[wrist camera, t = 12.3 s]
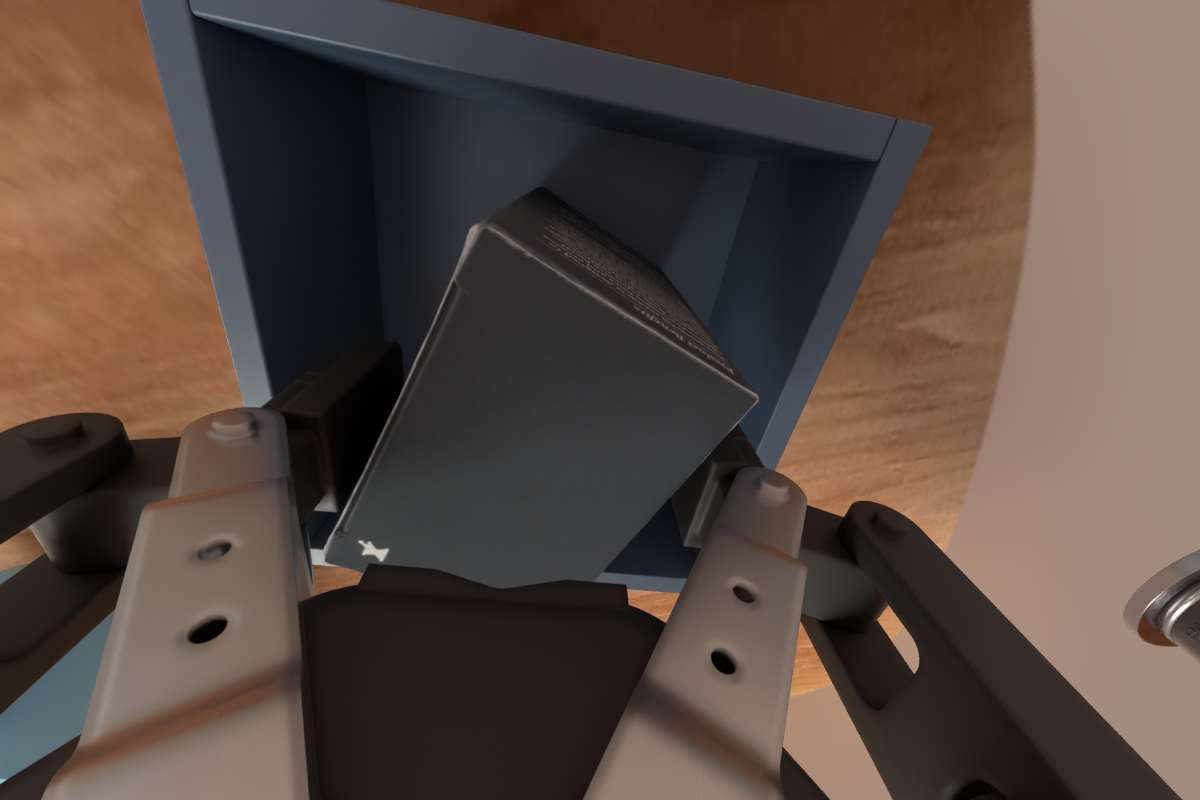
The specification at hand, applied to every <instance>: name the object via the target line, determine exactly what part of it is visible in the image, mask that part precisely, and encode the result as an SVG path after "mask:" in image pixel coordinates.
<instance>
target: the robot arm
mask: <svg viewBox="0 0 1200 800" xmlns="http://www.w3.org/2000/svg"><path fill="white" fill-rule="evenodd" d="M403 386H404V372H403V353H402V348H401V345H400V344H399V343H398V342H391V341H384V340H377V339H369V338H365V339H363V340H362V341H361V342H360V343H358V344H357V345H356V346H355V347H354V348H352V349H351V350H350V351H349V352H348V353H346V354H345V355H343V354H339V355H336V356H334V357H331V358H328V359H325V360H323V361H320V362H318V363H317V364H316V365H315V366H313V367H312V368H311V369H309V370H308V371H307V372H306V374H303V375H302V376H300V377H299V378H298V379H297V380H295V383H291V384H290V385H289V386H288V387H286V388H285V389H284V390H282V391H281V392H280V393H279V394H277V395H276V396H275V397H273V398H272V399H271V400H270V401H268V402H267V403H266V404H264V405H263V406H262V407H261V408H259V407H243V408H234V409H228V410H223V411H219V412H216V413H212V414H209V415H207V416H204V417H202V418H200V419H198V420H196V421H194V422H193V423H191V424H190V425H189V426H188V427H186V429H185V430H184V431H183V433H182V435H181V437H175V438H159V439H142V440H129V438H128V436H127V433H126V431H125V429H124V426H123V424H122V422H121V421H120V419H118V418H116V417H114V416H111V415H107V414H101V413H73V414H64V415H58V416H52V417H47V418H42V419H38V420H35V421H31V422H27V423H24V424H21V425H18V426H16V427H13V428H11V429H8V430H6V431H4V432H1V433H0V544H2V543H4V542H5V541H7V540H8V539H10V538H11V537H13V536H15V535H16V534H18V533H19V532H21V531H22V530H24V529H26V528H27V527H30V529H31V530H32V532H33V533H34V535H35V537H36V538H37V540H38V541H39V543H40V544H41V546H42V548H43V549H44V551H45V552H46V553H44V554H43V555H42V556H40V557H39V558H37V559H36V560H35V561H33V562H32V563H30V564H29V565H27V566H26V567H25V568H23V569H22V570H20V571H19V572H17V573H16V574H15V575H13V576H12V577H10V578H9V579H7V580H6V581H5V582H3V583H2V584H0V715H1V714H2V713H3V712H4V711H5V710H6V709H7V708H8V707H9V706H10V705H11V704H13V703H14V702H15V701H16V700H17V699H18V698H19V697H20V696H21V695H22V694H23V693H24V692H26V691H27V690H28V689H29V688H30V687H31V686H32V685H33V684H34V683H35V682H36V681H38V680H39V679H40V678H41V677H42V676H43V675H44V674H45V673H46V672H47V671H48V670H50V669H51V668H52V667H53V666H54V665H55V664H56V663H57V662H58V661H59V660H60V659H62V658H63V657H64V656H65V655H66V654H67V653H68V652H69V651H70V650H71V649H72V648H73V647H75V646H76V645H77V644H78V643H79V642H80V641H81V640H82V639H83V638H84V637H85V636H87V635H88V634H89V633H90V632H91V631H92V630H93V629H94V628H95V627H96V626H97V625H99V624H100V623H101V622H102V621H103V620H104V619H105V618H106V617H107V616H108V615H109V614H110V613H112V612H113V611H114V610H115V613H114V616H113V620H112V624H111V627H110V631H109V635H108V638H107V642H106V646H105V649H104V653H103V657H102V660H101V664H100V668H99V672H98V675H97V679H96V683H95V686H94V690H93V694H92V697H91V701H90V705H89V708H88V712H87V716H86V719H85V723H84V727H83V731H82V733H81V734H80V735H78V736H76V737H75V738H73V739H72V740H70V741H68V742H67V743H65V744H64V745H62V746H60V747H59V748H57V749H55V750H54V751H52V752H51V753H49V754H47V755H46V756H44V757H43V758H41V759H39V760H38V761H36V762H34V763H33V764H31V765H30V766H28V767H26V768H25V769H23V770H22V771H20V772H18V773H17V774H15V775H14V776H12V777H10V778H9V779H7V780H5V781H4V782H2V783H1V784H0V800H830V799H829V798H828V797H827V796H826V795H825V793H824V792H823V791H822V790H821V789H820V788H819V787H818V786H817V784H816V783H815V782H814V781H813V780H812V779H811V778H810V777H809V776H808V774H807V773H806V772H805V771H804V770H803V769H802V768H801V767H800V765H798V763H797V762H796V761H795V760H794V759H793V758H792V757H791V755H790V754H789V753H788V752H787V751H786V750H785V749H784V748H783V746H782V745H783V739H784V732H785V725H786V717H787V710H788V703H789V696H790V689H791V682H792V674H793V667H794V660H795V653H796V646H797V638H798V631H799V624H800V621H801V623H802V625H803V627H804V629H805V631H806V632H807V634H808V636H809V638H810V640H811V642H812V644H813V646H814V648H815V650H816V652H817V654H818V656H819V658H820V660H821V662H822V663H823V665H824V667H825V669H826V671H827V673H828V675H829V677H830V679H831V681H832V683H833V685H834V687H835V689H836V690H837V692H838V694H839V696H840V698H841V700H842V702H843V704H844V706H845V708H846V710H847V712H848V714H849V716H850V718H851V720H852V722H853V723H854V725H855V727H856V729H857V731H858V733H859V735H860V737H861V739H862V741H863V743H864V745H865V747H866V749H867V751H868V752H869V754H870V756H871V758H872V760H873V762H874V764H875V766H876V768H877V770H878V772H879V774H880V776H881V777H882V779H883V781H884V783H885V785H886V787H887V789H888V791H889V793H890V795H891V797H892V799H893V800H1182V799H1181V798H1180V797H1179V796H1178V795H1177V794H1176V793H1175V792H1174V791H1173V790H1172V789H1171V788H1170V787H1169V786H1168V785H1167V784H1166V783H1165V782H1164V780H1162V778H1161V777H1160V776H1159V775H1158V774H1157V773H1156V772H1155V771H1154V770H1153V769H1152V768H1151V767H1150V766H1149V765H1148V764H1147V763H1146V762H1145V761H1144V760H1143V759H1142V758H1141V757H1140V756H1139V755H1138V754H1137V752H1136V751H1134V749H1133V748H1132V747H1131V746H1130V745H1129V744H1128V743H1127V742H1126V741H1125V740H1124V739H1123V738H1122V737H1121V736H1120V735H1119V734H1118V733H1117V732H1116V731H1115V730H1114V729H1113V728H1112V727H1111V726H1110V725H1109V723H1107V721H1106V720H1104V719H1103V717H1102V716H1101V715H1100V714H1099V713H1098V712H1097V711H1096V710H1095V709H1094V708H1093V707H1092V706H1091V705H1090V704H1089V703H1088V702H1087V701H1086V700H1085V699H1084V698H1083V697H1082V696H1081V695H1080V693H1079V692H1078V691H1077V690H1076V689H1075V688H1074V687H1073V686H1072V685H1071V684H1070V683H1069V682H1068V681H1067V680H1066V679H1065V678H1064V677H1063V676H1062V675H1061V674H1060V673H1059V672H1058V671H1057V670H1056V669H1055V668H1054V667H1053V665H1051V664H1050V663H1049V661H1048V660H1047V659H1046V658H1045V657H1044V656H1043V655H1042V654H1041V653H1040V652H1039V651H1038V650H1037V649H1036V648H1035V647H1034V646H1033V645H1032V644H1031V643H1030V642H1029V641H1028V640H1027V639H1026V638H1025V636H1024V635H1023V634H1022V633H1021V632H1020V631H1019V630H1018V629H1017V628H1016V627H1015V626H1014V625H1013V624H1012V623H1011V622H1010V621H1009V620H1008V619H1007V618H1006V617H1005V616H1004V615H1003V614H1002V613H1001V612H1000V611H999V610H998V609H997V607H996V606H995V605H994V604H993V603H992V602H991V601H990V600H989V599H988V598H987V597H986V596H985V595H984V594H983V593H982V592H981V591H980V590H979V589H978V588H977V587H976V586H975V585H974V584H973V583H972V582H971V581H970V580H969V579H968V577H967V576H966V575H965V574H964V573H963V572H962V571H961V570H960V569H959V568H958V567H957V566H956V565H955V564H954V563H953V562H952V561H951V560H950V559H949V558H948V557H947V556H946V555H945V554H944V553H943V552H942V551H941V549H940V548H939V547H938V546H937V545H936V544H935V543H934V542H933V541H932V540H931V539H930V538H929V537H928V536H927V535H926V534H925V533H924V532H923V531H922V530H921V529H920V528H919V527H918V526H917V525H916V524H915V523H914V522H912V521H911V520H910V519H908V518H907V517H905V516H904V515H902V514H901V513H899V512H897V511H895V510H893V509H891V508H889V507H887V506H884V505H881V504H878V503H875V502H870V501H857V502H855V503H853V504H852V505H851V506H850V508H849V510H848V511H847V513H846V515H845V516H844V517H842V516H839V515H836V514H832V513H829V512H826V511H823V510H820V509H817V508H814V507H811V506H809V505H807V499H806V496H805V494H804V492H803V491H802V490H801V488H800V487H799V486H798V485H797V484H796V483H794V482H793V481H792V480H790V479H789V478H788V477H786V476H784V475H782V474H780V473H778V472H776V471H773V470H771V469H767V468H765V467H764V465H763V463H762V462H761V460H760V458H759V457H758V455H757V453H756V452H755V450H754V448H753V447H752V445H751V443H750V442H749V441H748V438H747V437H746V435H745V433H744V432H743V431H742V428H741V427H740V425H739V423H738V424H737V425H736V426H735V427H734V428H733V429H732V430H731V431H730V432H729V433H728V434H727V435H726V436H725V437H724V439H723V440H722V441H721V442H720V443H719V444H718V445H717V446H716V447H715V448H714V450H713V451H712V452H711V453H710V454H709V455H708V456H707V458H706V459H705V460H704V461H703V462H702V463H701V464H700V465H699V466H698V467H697V468H696V469H695V471H694V472H693V473H692V474H691V475H690V476H689V477H688V478H687V480H686V481H685V482H684V483H683V484H682V485H681V486H680V487H679V488H678V489H677V490H676V491H675V493H674V494H673V495H672V496H671V500H672V504H673V507H674V511H675V515H676V518H677V522H678V526H679V530H680V533H681V537H682V541H683V545H684V546H685V547H696V548H701V550H700V552H699V554H698V556H697V559H696V561H695V563H694V565H693V567H692V569H691V572H690V574H689V576H688V578H687V580H686V582H685V584H684V587H683V589H682V591H681V593H680V595H679V597H678V600H677V602H676V604H675V606H674V608H673V610H672V612H671V615H670V617H669V619H668V621H667V623H665V622H663V621H661V620H660V619H658V618H656V617H655V616H653V615H651V614H649V613H647V612H645V611H643V610H640V609H638V608H636V607H633V606H630V605H629V603H628V594H627V585H626V584H616V583H603V582H591V581H579V580H567V579H566V580H560V581H553V582H546V583H539V584H532V585H525V586H519V587H512V588H503V589H501V588H494V587H491V586H488V585H484V584H481V583H478V582H475V581H472V580H469V579H466V578H463V577H460V576H456V575H453V574H450V573H447V572H444V571H441V570H438V569H432V568H420V567H408V566H395V565H383V564H371V563H369V565H368V566H367V568H366V570H365V572H364V574H363V576H362V578H361V580H360V582H359V584H358V585H354V586H348V587H344V588H340V589H336V590H331V591H328V592H325V593H322V594H319V595H316V589H315V581H314V573H313V565H312V557H311V548H310V540H309V532H308V527H307V522H306V520H307V518H308V517H309V516H310V514H311V513H312V512H313V510H315V511H326V512H336V513H337V512H338V511H339V509H340V508H341V507H342V505H343V504H344V502H345V501H346V499H347V498H348V496H349V495H350V493H351V492H352V491H353V489H354V488H355V485H356V483H357V481H358V480H359V478H360V476H361V474H362V472H363V470H364V468H365V466H366V464H367V462H368V459H369V456H370V454H371V452H372V451H373V449H374V447H375V445H376V443H377V440H378V438H379V436H380V434H381V432H382V430H383V428H384V426H385V424H386V422H387V420H388V418H389V416H390V414H391V412H392V409H393V407H394V405H395V403H396V401H397V399H398V397H399V395H400V393H401V390H402V388H403ZM888 605H889V606H890V607H891V609H892V610H893V611H894V613H895V614H896V616H897V617H898V618H899V620H900V621H901V622H902V624H903V625H904V627H905V628H906V629H907V630H908V632H909V633H910V635H911V636H912V638H913V639H914V641H915V643H916V646H917V648H918V652H919V658H920V659H919V668H918V670H917V671H916V673H915V674H914V673H913V672H912V670H911V669H910V668H909V666H908V665H907V663H906V662H905V660H904V659H903V657H902V656H901V654H900V653H899V651H898V650H897V649H896V647H895V646H894V644H893V643H892V641H891V640H890V638H889V637H888V635H887V634H886V632H885V631H884V629H883V628H882V626H881V625H880V624H879V622H878V621H877V619H878V618H879V617H880V615H881V614H882V613H883V612H884V610H885V609H886V608H887V606H888ZM1157 628H1158V630H1159V632H1160V633H1162V634H1163V635H1164V636H1165V637H1167V638H1168V639H1169V640H1170V641H1172V642H1173V643H1174V644H1176V645H1178V646H1180V647H1181V648H1182V649H1184V650H1185V651H1186V652H1187V653H1189V654H1190V655H1191V656H1192V657H1193V658H1195V659H1196V660H1197V661H1199V662H1200V581H1198V582H1196V583H1195V584H1193V585H1191V586H1190V587H1188V588H1187V589H1185V590H1184V591H1182V592H1181V593H1180V594H1178V595H1177V596H1176V597H1175V598H1173V599H1172V600H1171V601H1170V602H1169V603H1168V604H1167V605H1166V606H1165V607H1164V609H1163V610H1162V611H1161V613H1160V615H1159V617H1158V619H1157Z"/></svg>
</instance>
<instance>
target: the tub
mask: <svg viewBox="0 0 1200 800" xmlns="http://www.w3.org/2000/svg"><path fill="white" fill-rule="evenodd" d="M139 1H140V5H141V9H142V12H143V16H144V20H145V24H146V28H147V32H148V36H149V39H150V43H151V47H152V51H153V55H154V59H155V63H156V67H157V70H158V74H159V78H160V82H161V86H162V90H163V94H164V98H165V101H166V105H167V109H168V113H169V117H170V121H171V125H172V129H173V132H174V136H175V140H176V144H177V148H178V152H179V156H180V160H181V163H182V167H183V171H184V175H185V179H186V183H187V187H188V191H189V194H190V198H191V202H192V206H193V210H194V214H195V218H196V221H197V225H198V229H199V233H200V237H201V241H202V245H203V249H204V252H205V256H206V260H207V264H208V268H209V272H210V276H211V280H212V283H213V287H214V291H215V295H216V299H217V303H218V307H219V311H220V314H221V318H222V322H223V326H224V330H225V334H226V338H227V342H228V345H229V349H230V353H231V357H232V361H233V365H234V369H235V372H236V376H237V380H238V384H239V388H240V392H241V396H242V400H243V403H244V407H259V408H261V407H262V406H263V405H264V404H266V403H267V402H268V401H270V400H271V399H272V398H273V397H275V396H276V395H277V394H279V393H280V392H281V391H282V390H284V389H285V388H286V387H288V386H289V385H290V384H291V383H295V380H297V379H298V378H299V377H300V376H302V375H303V374H306V372H307V371H308V370H309V369H311V368H312V367H313V366H315V365H316V364H317V363H318V362H320V361H323V360H325V359H328V358H331V357H334V356H336V355H339V354H343V355H345V354H346V353H348V352H349V351H350V350H351V349H352V348H354V347H355V346H356V345H357V344H358V343H360V342H361V341H362V340H363V339H365V338H369V339H377V340H384V341H391V342H398V343H399V344H400V345H401V348H402V353H403V372H404V384H405V381H406V379H407V377H408V375H409V372H410V370H411V368H412V365H413V363H414V361H415V358H416V356H417V354H418V352H419V350H420V348H421V345H422V343H423V341H424V339H425V337H426V335H427V333H428V331H429V329H430V328H431V325H432V323H433V321H434V318H435V316H436V313H437V311H438V308H439V306H440V303H441V301H442V299H443V296H444V294H445V292H446V289H447V287H448V285H449V282H450V280H451V278H452V275H453V273H454V271H455V268H456V266H457V263H458V260H459V258H460V255H461V253H462V250H463V247H464V243H465V240H466V237H467V234H468V231H469V229H470V227H471V226H472V225H473V224H475V223H476V222H478V221H480V220H481V219H483V218H484V217H486V216H489V215H491V214H493V213H495V212H496V211H497V210H499V209H501V208H503V207H505V206H506V205H508V204H510V203H512V202H514V201H515V200H517V199H519V198H521V197H522V196H524V195H526V194H527V193H529V192H530V191H532V190H534V189H535V188H537V187H545V188H546V189H547V190H548V191H550V192H551V193H553V194H554V195H556V196H557V197H559V198H560V199H561V200H563V201H564V202H565V203H567V204H568V205H570V206H571V207H573V208H574V209H576V210H577V211H578V212H580V213H581V214H583V215H584V216H585V217H587V218H588V219H590V220H591V221H593V222H594V223H595V224H597V225H598V226H599V227H601V228H602V229H604V230H605V231H607V232H608V233H610V234H611V235H613V236H614V237H615V238H617V239H618V240H620V241H621V242H622V243H624V244H625V245H627V246H628V247H630V248H632V249H633V250H634V251H636V252H637V253H639V254H640V255H642V256H643V257H644V258H646V259H647V260H648V261H650V262H652V263H653V264H654V265H656V266H657V267H659V268H660V269H661V270H662V271H663V272H664V273H665V274H666V276H667V277H668V278H669V280H670V281H671V282H672V284H673V285H674V286H675V287H676V289H677V290H678V291H679V293H680V295H681V296H682V297H683V298H684V299H685V300H686V302H687V304H688V305H689V306H690V307H691V309H692V310H693V311H694V313H695V314H696V315H697V316H698V318H699V319H700V320H701V322H702V323H703V324H704V325H705V326H706V328H707V329H708V331H709V332H710V333H711V335H712V336H713V337H714V338H715V340H716V341H717V342H718V344H719V345H720V346H721V347H722V349H723V350H724V352H725V353H726V354H727V355H728V357H729V358H730V360H731V361H732V362H733V363H734V365H735V366H736V368H737V369H738V370H739V372H740V373H741V374H742V376H743V377H744V378H745V379H746V380H747V381H748V383H749V384H750V385H751V386H752V388H753V389H754V390H755V392H756V393H757V395H758V398H759V400H758V402H757V403H756V404H755V405H754V406H753V407H752V408H751V409H750V411H749V412H748V413H747V414H746V415H745V416H744V417H743V418H742V419H741V421H740V422H739V425H740V427H741V428H742V431H743V432H744V433H745V435H746V437H747V438H748V441H749V442H750V443H751V445H752V447H753V448H754V450H755V452H756V453H757V455H758V457H759V458H760V460H761V462H762V463H763V465H764V467H765V468H767V469H771V470H773V471H775V468H776V466H777V464H778V462H779V460H780V458H781V455H782V453H783V451H784V449H785V447H786V445H787V443H788V440H789V438H790V436H791V434H792V432H793V430H794V427H795V425H796V423H797V421H798V419H799V417H800V414H801V412H802V410H803V408H804V406H805V404H806V401H807V399H808V397H809V395H810V393H811V391H812V388H813V386H814V384H815V382H816V380H817V378H818V375H819V373H820V371H821V369H822V367H823V365H824V362H825V360H826V358H827V356H828V354H829V352H830V349H831V347H832V345H833V343H834V341H835V339H836V336H837V334H838V332H839V330H840V328H841V326H842V324H843V321H844V319H845V317H846V315H847V313H848V311H849V308H850V306H851V304H852V302H853V300H854V298H855V295H856V293H857V291H858V289H859V287H860V285H861V282H862V280H863V278H864V276H865V274H866V272H867V269H868V267H869V265H870V263H871V261H872V259H873V256H874V254H875V252H876V250H877V248H878V246H879V243H880V241H881V239H882V237H883V235H884V233H885V230H886V228H887V226H888V224H889V222H890V220H891V217H892V215H893V213H894V211H895V209H896V207H897V205H898V202H899V200H900V198H901V196H902V194H903V192H904V189H905V187H906V185H907V183H908V181H909V179H910V176H911V174H912V172H913V170H914V168H915V166H916V163H917V161H918V159H919V157H920V155H921V153H922V150H923V148H924V146H925V144H926V142H927V140H928V137H929V135H930V133H931V131H932V129H933V127H932V126H931V125H928V124H924V123H919V122H915V121H911V120H906V119H902V118H897V119H895V118H894V117H892V116H888V115H884V114H879V113H875V112H871V111H866V110H862V109H857V108H853V107H849V106H844V105H840V104H836V103H831V102H827V101H823V100H818V99H814V98H810V97H805V96H801V95H797V94H792V93H788V92H784V91H779V90H775V89H771V88H766V87H762V86H757V85H753V84H749V83H744V82H740V81H736V80H731V79H727V78H723V77H718V76H714V75H710V74H705V73H701V72H697V71H692V70H688V69H684V68H679V67H675V66H671V65H666V64H662V63H658V62H653V61H649V60H644V59H640V58H636V57H631V56H627V55H623V54H618V53H614V52H610V51H605V50H601V49H597V48H592V47H588V46H584V45H579V44H575V43H571V42H566V41H562V40H558V39H553V38H549V37H544V36H540V35H536V34H531V33H527V32H523V31H518V30H514V29H510V28H505V27H501V26H497V25H492V24H488V23H484V22H479V21H475V20H471V19H466V18H462V17H458V16H453V15H449V14H444V13H440V12H436V11H431V10H427V9H423V8H418V7H414V6H410V5H405V4H401V3H397V2H392V1H388V0H139ZM353 490H354V489H353ZM352 492H353V491H352ZM352 492H351V493H350V495H349V496H348V498H347V499H346V501H345V502H344V504H343V505H342V507H341V508H340V509H339V511H338V512H337V513H336V512H326V511H315V510H313V512H312V513H311V514H310V516H309V517H308V518H307V520H306V522H307V527H308V532H309V540H310V548H311V557H312V565H323V566H336V565H332V564H328V563H327V562H325V555H324V552H323V551H324V546H325V544H326V542H327V540H328V538H329V536H330V534H331V532H332V531H333V529H334V527H335V526H336V523H337V521H338V520H339V518H340V516H341V514H342V512H343V510H344V508H345V506H346V504H347V502H348V500H349V498H350V496H351V494H352ZM700 550H701V548H696V547H685V546H684V545H683V541H682V537H681V533H680V530H679V526H678V522H677V518H676V515H675V511H674V507H673V504H672V500H671V497H670V498H669V499H668V500H667V501H666V502H665V504H664V505H663V506H662V507H661V508H660V509H659V510H658V511H657V512H656V513H655V514H654V516H653V517H652V518H651V519H650V520H649V522H648V523H647V524H646V525H645V526H644V527H643V528H642V529H641V530H640V531H639V532H638V533H637V534H636V536H635V537H634V538H633V539H632V540H631V541H630V542H629V543H628V544H627V545H626V547H625V548H624V549H623V550H622V551H621V552H620V553H619V554H618V556H617V557H616V558H615V559H614V560H613V561H612V562H611V563H610V564H609V565H608V567H607V568H606V569H605V570H604V571H603V572H602V573H601V574H600V575H599V577H598V578H597V579H596V580H595V581H594V582H603V583H616V584H626V585H627V589H631V590H644V591H657V592H670V593H681V591H682V589H683V587H684V584H685V582H686V580H687V578H688V576H689V574H690V572H691V569H692V567H693V565H694V563H695V561H696V559H697V556H698V554H699V552H700ZM336 567H340V566H336Z"/></svg>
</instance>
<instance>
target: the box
mask: <svg viewBox="0 0 1200 800" xmlns="http://www.w3.org/2000/svg"><path fill="white" fill-rule="evenodd" d="M758 400H759V398H758V395H757V393H756V392H755V390H754V389H753V388H752V386H751V385H750V384H749V383H748V381H747V380H746V379H745V378H744V377H743V376H742V374H741V373H740V372H739V370H738V369H737V368H736V366H735V365H734V363H733V362H732V361H731V360H730V358H729V357H728V355H727V354H726V353H725V352H724V350H723V349H722V347H721V346H720V345H719V344H718V342H717V341H716V340H715V338H714V337H713V336H712V335H711V333H710V332H709V331H708V329H707V328H706V326H705V325H704V324H703V323H702V322H701V320H700V319H699V318H698V316H697V315H696V314H695V313H694V311H693V310H692V309H691V307H690V306H689V305H688V304H687V302H686V300H685V299H684V298H683V297H682V296H681V295H680V293H679V291H678V290H677V289H676V287H675V286H674V285H673V284H672V282H671V281H670V280H669V278H668V277H667V276H666V274H665V273H664V272H663V271H662V270H661V269H660V268H659V267H657V266H656V265H654V264H653V263H652V262H650V261H648V260H647V259H646V258H644V257H643V256H642V255H640V254H639V253H637V252H636V251H634V250H633V249H632V248H630V247H628V246H627V245H625V244H624V243H622V242H621V241H620V240H618V239H617V238H615V237H614V236H613V235H611V234H610V233H608V232H607V231H605V230H604V229H602V228H601V227H599V226H598V225H597V224H595V223H594V222H593V221H591V220H590V219H588V218H587V217H585V216H584V215H583V214H581V213H580V212H578V211H577V210H576V209H574V208H573V207H571V206H570V205H568V204H567V203H565V202H564V201H563V200H561V199H560V198H559V197H557V196H556V195H554V194H553V193H551V192H550V191H548V190H547V189H546V188H545V187H537V188H535V189H534V190H532V191H530V192H529V193H527V194H526V195H524V196H522V197H521V198H519V199H517V200H515V201H514V202H512V203H510V204H508V205H506V206H505V207H503V208H501V209H499V210H497V211H496V212H495V213H493V214H491V215H489V216H486V217H484V218H483V219H481V220H480V221H478V222H476V223H475V224H473V225H472V226H471V227H470V229H469V231H468V234H467V237H466V240H465V243H464V247H463V250H462V253H461V255H460V258H459V260H458V263H457V266H456V268H455V271H454V273H453V275H452V278H451V280H450V282H449V285H448V287H447V289H446V292H445V294H444V296H443V299H442V301H441V303H440V306H439V308H438V311H437V313H436V316H435V318H434V321H433V323H432V325H431V328H430V329H429V331H428V333H427V335H426V337H425V339H424V341H423V343H422V345H421V348H420V350H419V352H418V354H417V356H416V358H415V361H414V363H413V365H412V368H411V370H410V372H409V375H408V377H407V379H406V381H405V384H404V386H403V388H402V390H401V393H400V395H399V397H398V399H397V401H396V403H395V405H394V407H393V409H392V412H391V414H390V416H389V418H388V420H387V422H386V424H385V426H384V428H383V430H382V432H381V434H380V436H379V438H378V440H377V443H376V445H375V447H374V449H373V451H372V452H371V454H370V456H369V459H368V462H367V464H366V466H365V468H364V470H363V472H362V474H361V476H360V478H359V480H358V481H357V483H356V485H355V488H354V490H353V492H352V494H351V496H350V498H349V500H348V502H347V504H346V506H345V508H344V510H343V512H342V514H341V516H340V518H339V520H338V521H337V523H336V526H335V527H334V529H333V531H332V532H331V534H330V536H329V538H328V540H327V542H326V544H325V546H324V551H323V552H324V555H325V562H327V563H328V564H332V565H336V566H340V567H344V568H348V569H351V570H355V571H359V572H362V573H364V572H365V570H366V568H367V566H368V565H369V563H371V564H383V565H395V566H408V567H420V568H432V569H438V570H441V571H444V572H447V573H450V574H453V575H456V576H460V577H463V578H466V579H469V580H472V581H475V582H478V583H481V584H484V585H488V586H491V587H494V588H501V589H503V588H512V587H519V586H525V585H532V584H539V583H546V582H553V581H560V580H566V579H567V580H579V581H591V582H594V581H595V580H596V579H597V578H598V577H599V575H600V574H601V573H602V572H603V571H604V570H605V569H606V568H607V567H608V565H609V564H610V563H611V562H612V561H613V560H614V559H615V558H616V557H617V556H618V554H619V553H620V552H621V551H622V550H623V549H624V548H625V547H626V545H627V544H628V543H629V542H630V541H631V540H632V539H633V538H634V537H635V536H636V534H637V533H638V532H639V531H640V530H641V529H642V528H643V527H644V526H645V525H646V524H647V523H648V522H649V520H650V519H651V518H652V517H653V516H654V514H655V513H656V512H657V511H658V510H659V509H660V508H661V507H662V506H663V505H664V504H665V502H666V501H667V500H668V499H669V498H670V497H671V496H672V495H673V494H674V493H675V491H676V490H677V489H678V488H679V487H680V486H681V485H682V484H683V483H684V482H685V481H686V480H687V478H688V477H689V476H690V475H691V474H692V473H693V472H694V471H695V469H696V468H697V467H698V466H699V465H700V464H701V463H702V462H703V461H704V460H705V459H706V458H707V456H708V455H709V454H710V453H711V452H712V451H713V450H714V448H715V447H716V446H717V445H718V444H719V443H720V442H721V441H722V440H723V439H724V437H725V436H726V435H727V434H728V433H729V432H730V431H731V430H732V429H733V428H734V427H735V426H736V425H737V424H738V423H739V422H740V421H741V419H742V418H743V417H744V416H745V415H746V414H747V413H748V412H749V411H750V409H751V408H752V407H753V406H754V405H755V404H756V403H757V402H758Z"/></svg>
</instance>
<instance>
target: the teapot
mask: <svg viewBox="0 0 1200 800" xmlns="http://www.w3.org/2000/svg"><path fill="white" fill-rule="evenodd" d="M27 565H29V564H25V565H21V566H17V567H13V568H10V569H6V570H3V571H0V584H2V583H3V582H5V581H6V580H7V579H9V578H10V577H12V576H13V575H15V574H16V573H17V572H19V571H20V570H22V569H23V568H25V567H26V566H27ZM114 613H115V610H114V611H113V612H112V613H110V614H109V615H108V616H107V617H106V618H105V619H104V620H103V621H102V622H101V623H100V624H99V625H97V626H96V627H95V628H94V629H93V630H92V631H91V632H90V633H89V634H88V635H87V636H85V637H84V638H83V639H82V640H81V641H80V642H79V643H78V644H77V645H76V646H75V647H73V648H72V649H71V650H70V651H69V652H68V653H67V654H66V655H65V656H64V657H63V658H62V659H60V660H59V661H58V662H57V663H56V664H55V665H54V666H53V667H52V668H51V669H50V670H48V671H47V672H46V673H45V674H44V675H43V676H42V677H41V678H40V679H39V680H38V681H36V682H35V683H34V684H33V685H32V686H31V687H30V688H29V689H28V690H27V691H26V692H24V693H23V694H22V695H21V696H20V697H19V698H18V699H17V700H16V701H15V702H14V703H13V704H11V705H10V706H9V707H8V708H7V709H6V710H5V711H4V712H3V713H2V714H1V715H0V784H1V783H2V782H4V781H5V780H7V779H9V778H10V777H12V776H14V775H15V774H17V773H18V772H20V771H22V770H23V769H25V768H26V767H28V766H30V765H31V764H33V763H34V762H36V761H38V760H39V759H41V758H43V757H44V756H46V755H47V754H49V753H51V752H52V751H54V750H55V749H57V748H59V747H60V746H62V745H64V744H65V743H67V742H68V741H70V740H72V739H73V738H75V737H76V736H78V735H80V734H81V733H82V731H83V727H84V723H85V719H86V716H87V712H88V708H89V705H90V701H91V697H92V694H93V690H94V686H95V683H96V679H97V675H98V672H99V668H100V664H101V660H102V657H103V653H104V649H105V646H106V642H107V638H108V635H109V631H110V627H111V624H112V620H113V616H114Z"/></svg>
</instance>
